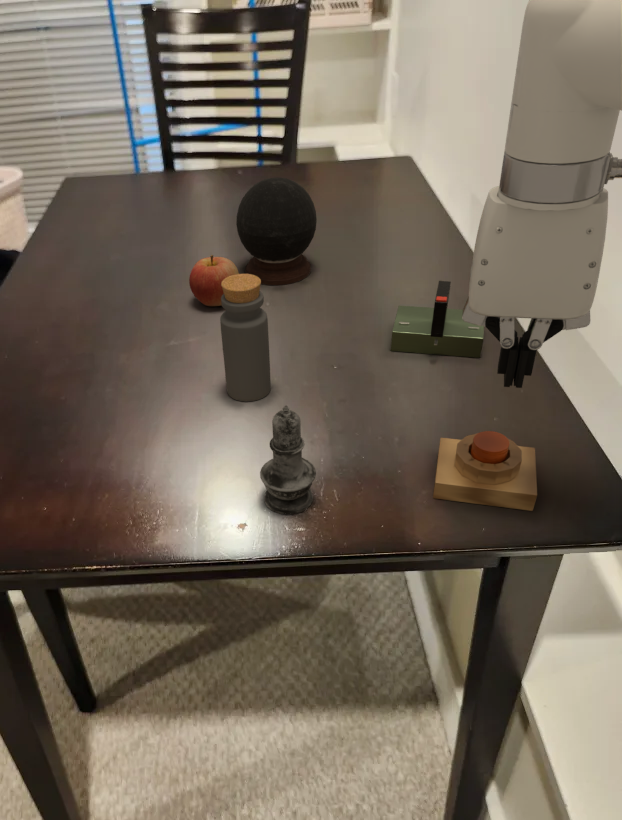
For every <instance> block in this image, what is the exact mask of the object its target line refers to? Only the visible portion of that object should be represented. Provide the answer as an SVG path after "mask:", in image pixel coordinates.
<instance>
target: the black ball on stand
mask: <svg viewBox="0 0 622 820" xmlns="http://www.w3.org/2000/svg"><path fill="white" fill-rule="evenodd" d="M237 208H238V209H237V212H236V229H237V230H236V231H237V235H238V238H239V239H240V242H241V244H242V246H243V247H244V249H245V250H246V251H247V253H249V254H250V255H251V256H252V257H251V258H250V259H249V261H248V263H247V264H246V266H245V274H252V275H255V276H257V277H259V278H260V280H261V285H265V286H283V285H284V286H285V285H289V284H294V283H297V282H300V281H302V280H304V279H306V278H307V277H308V276H309V275H310V274H311V268H312V267H311V262H310V261H309V260H308V259H307V256H305V255H304V253H305V252H306V250H307V249H308V247H309V246H310V245H311V242H312V241H313V239H314V237H315V233H316V230H317V221H318V220H317V210H316V207H315V204H314V201H313V199H312V197H311V196H310V194H309V192H307V191H306V189H305V188H304V187H303V186H301V185H300V184H299V183H297V182H296V181H294V180H292V179H289V178H285V177H269V178H263V180H260V181H258V182H257V183H255V184H254V185H252V186H251V187H249V189H248V191H246V193H245V194H244V195H243V197H242V198H241V201H240V203H239V205H238V207H237Z"/></svg>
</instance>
